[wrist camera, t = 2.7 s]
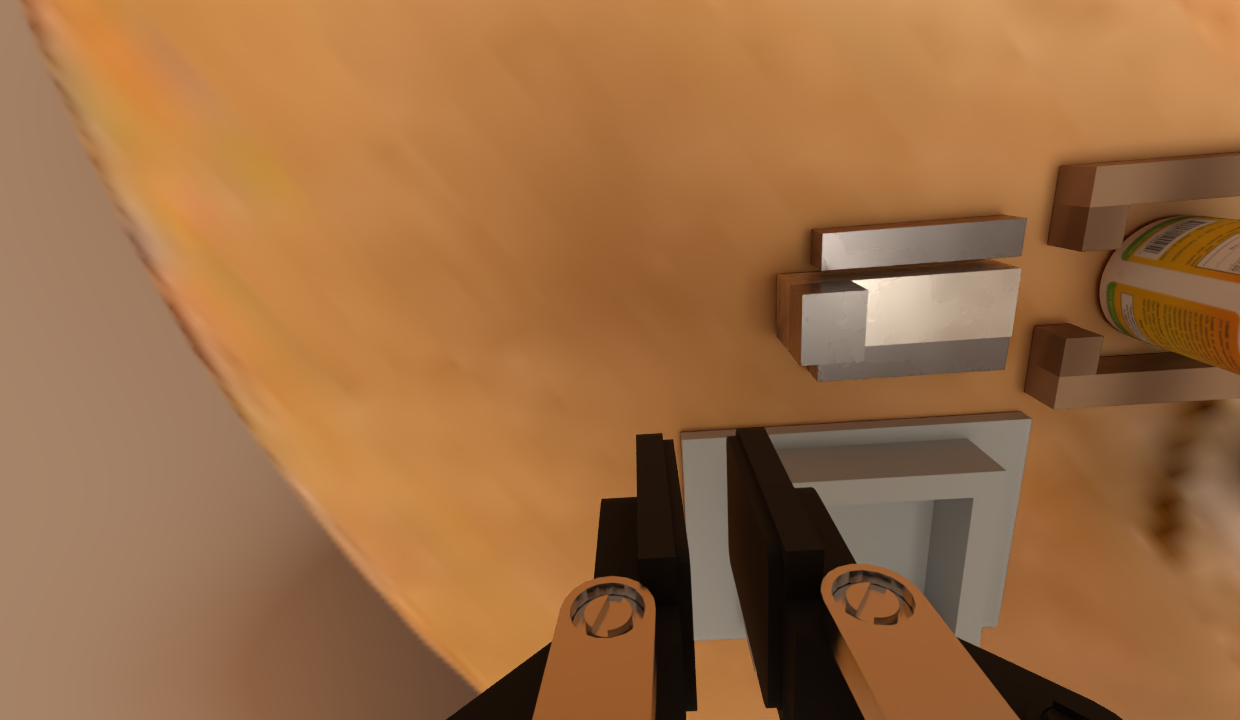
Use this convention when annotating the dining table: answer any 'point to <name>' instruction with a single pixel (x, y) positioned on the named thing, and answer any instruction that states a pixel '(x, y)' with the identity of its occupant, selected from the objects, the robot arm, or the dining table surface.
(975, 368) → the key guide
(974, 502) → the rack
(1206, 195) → the socket collar
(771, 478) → the robot arm
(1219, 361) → the supplement bottle
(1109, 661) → the dining table surface
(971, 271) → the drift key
